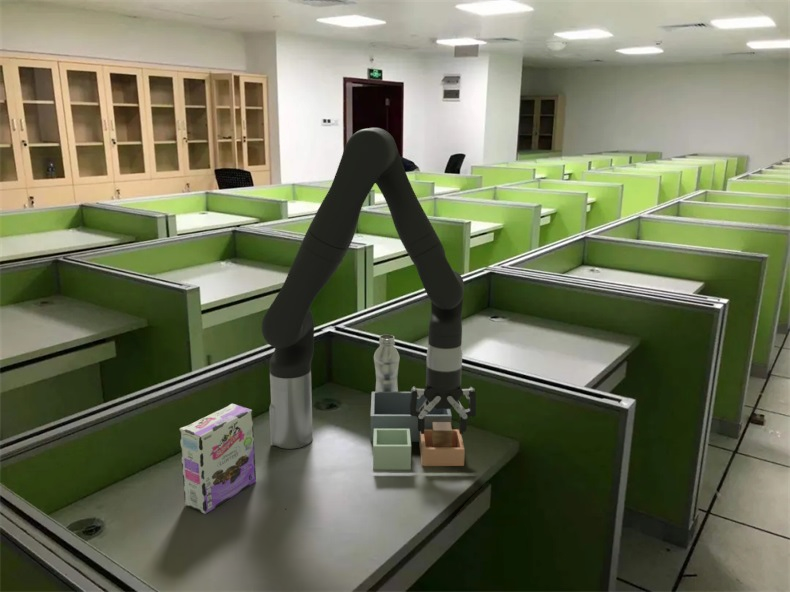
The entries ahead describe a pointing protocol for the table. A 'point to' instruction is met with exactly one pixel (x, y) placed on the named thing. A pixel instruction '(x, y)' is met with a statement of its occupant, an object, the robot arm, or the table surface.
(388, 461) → the pale green open box
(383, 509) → the table surface
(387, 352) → the plastic bottle
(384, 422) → the slate bin
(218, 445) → the candy box
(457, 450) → the peach square tray
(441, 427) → the walnut block
